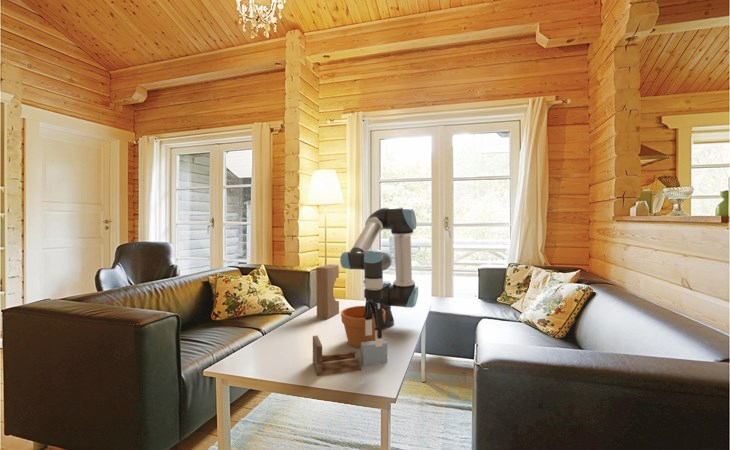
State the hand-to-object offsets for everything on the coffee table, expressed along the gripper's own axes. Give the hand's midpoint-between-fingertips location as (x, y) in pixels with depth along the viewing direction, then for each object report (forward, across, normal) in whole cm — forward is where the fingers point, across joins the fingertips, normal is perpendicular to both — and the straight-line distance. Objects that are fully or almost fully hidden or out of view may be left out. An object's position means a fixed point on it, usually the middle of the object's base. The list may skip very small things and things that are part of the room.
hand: (373, 340), depth 138 cm
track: (+9, -1, -15) cm, 18 cm away
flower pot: (+9, -23, +2) cm, 25 cm away
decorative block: (+8, -73, -6) cm, 74 cm away
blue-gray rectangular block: (+9, 0, 0) cm, 9 cm away
